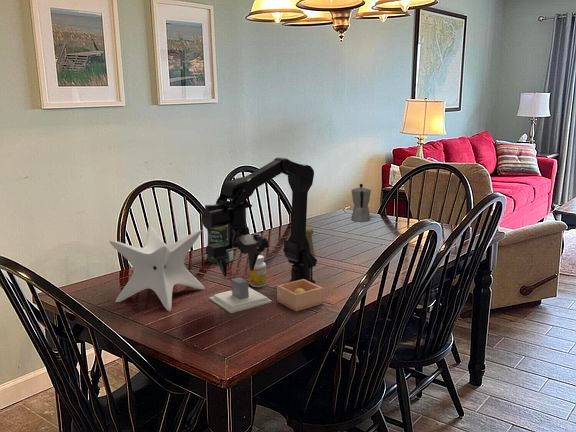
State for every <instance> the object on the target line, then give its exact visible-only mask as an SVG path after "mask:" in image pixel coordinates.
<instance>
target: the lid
mask: <svg viewBox="0 0 576 432" xmlns="http://www.w3.org/2000/svg"><path fill="white" fill-rule="evenodd" d="M230 280H231V290H228V291H222V292H219V293H216V294H213V296H214V298H215V299H217V300H218V301H220V302H222V303H223V304H225V305H226V306H228V307H229V308H231V309H232V310H233V309H237V308H241V307H245V306H249V305H252V304H256V303H260V302H264V301H267V298H268V297H267V296H266V295H264V294H262V293H260V292H259V291H256V290H254V289H253V288H251V287H250V286H249V281H248V280H246V279H244V278H242V277H235V278H231V279H230Z"/></svg>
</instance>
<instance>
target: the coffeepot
mask: <svg viewBox="0 0 576 432" xmlns="http://www.w3.org/2000/svg"><path fill="white" fill-rule="evenodd" d="M363 186H364V184H363V183H359V187H356V188H352V189H351V197H352V203H353V209H352V214H351V220H352V222H356V223H367V222H370V220H371V215H370V210H369V209H370V208H369V204H370V199H371V198H370V197H371V193H372V190H371V189H369V188H365V187H363Z"/></svg>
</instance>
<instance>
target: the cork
mask: <svg viewBox="0 0 576 432" xmlns="http://www.w3.org/2000/svg"><path fill="white" fill-rule="evenodd" d="M313 233H314V230H313V228H312V227H310V226H306V237H307V240H308V242H309V244H310V253H311V254H312V255H313V256H315V248H314V241H313V236H312V235H314V234H313Z"/></svg>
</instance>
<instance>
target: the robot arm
mask: <svg viewBox="0 0 576 432" xmlns="http://www.w3.org/2000/svg"><path fill="white" fill-rule="evenodd" d="M281 174H284V175H285V176H287V181H288V185H289V188H290V189H291V194H292V195H291V214H290V215H291V218H290V222H291V223H290V235H289V237H288V238H287V239H284V240H283V250H282V252H283V253H284V257H285V258H286V259H287V260H288V263H289V264H291V270H290V277H291V278H290V279H289V282H293V281H297V280H301V279H305V280H307V281H309V282H311V283H314V284H316V280H314V279H313V274H314V273H313V269H314V267H316V266H317V262H318V259H317V258H316V257H315V255H312V254H311V253H310V244H309V242H308V240H307V237H306V227H307V218H308V217H307V214H308V213H307V212H308V211H307V210H308V192H309V190H310V189H311V188H312V186H313V183H314V177H315V170H314V168H313V167H312V166H311V165H309V164H304V163H303V164H302V163H297V162H294V161H292V160H290V159H288V158H286V157H275V158H274V159H273V160H272V161H270V162H269V163H266V164H265V165H264V166H262V167H260V168H258V169H257V170H255V171H253V172H251V173H250V174H248V175H246V176H242V177H237V178H233V179H230V180H228V181H226V182H225V183H224V184H223V188H222V191H221V192H220V194H219V196H218V198H217V199H216V201H215V204H206V205H204V210H203V211H202V214H201V217H200V218H201V222H202V225H203V227H204V228H205V229H206V230H207V229H212V228H217V227H223V226H225V230H227V233H228V239H226V243H228V245H224V246H223V245H221V244H219V243H215V244H209V245H208V244H207V246H206V247H205V255H209V256H211V257H213V258H215V260H216V261H217V263H216V264H218V267H219V269H220V271H221V273H222V275H223V277H224V278H226V277H228V276H227V275H228V274H227V272H228V271H227V263H226V259H227V257H226V256H225V255H226V252H227V251H232V250H233V251H236V250H239V251H240V253H241V254H244V255H247V254H248V263H249V264H248V265H249V271H250V270H251V271H253V270H254V267H255V264H256V261H257V258H258V256H259V255H261V253H262V252H265V250H266V249H267V248H269V240H268V239H267V238H266V237H264V236H262V234H261V233H254V234H251V233H250V229H249V226H247V208H252V207H253V205H252V204H251V203H250V202H249V201H248V199H249V198H250V197H251V196H252V195H253V194H254V192H255V191H256V189H257V188H259V187H261V186H262V185H264V184H266V183H267V182H269V181H272V180H273V179H274V178H276V177H278V176H280V175H281ZM226 225H227V226H226Z"/></svg>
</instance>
